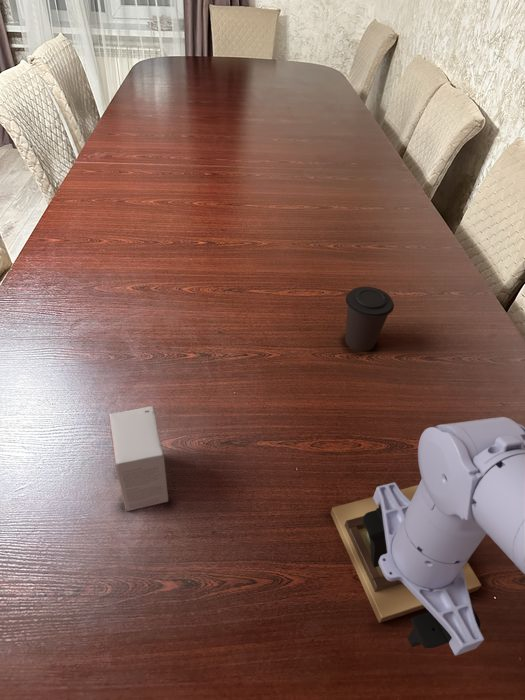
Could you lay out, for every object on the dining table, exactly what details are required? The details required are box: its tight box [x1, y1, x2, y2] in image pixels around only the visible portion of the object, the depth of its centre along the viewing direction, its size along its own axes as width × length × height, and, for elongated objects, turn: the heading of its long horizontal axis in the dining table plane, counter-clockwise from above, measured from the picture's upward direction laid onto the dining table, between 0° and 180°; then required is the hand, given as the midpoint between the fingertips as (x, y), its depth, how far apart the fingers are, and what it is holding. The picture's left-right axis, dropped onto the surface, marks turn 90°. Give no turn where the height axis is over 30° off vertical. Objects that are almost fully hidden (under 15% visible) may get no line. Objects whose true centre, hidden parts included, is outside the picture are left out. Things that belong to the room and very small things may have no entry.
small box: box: [108, 405, 169, 512], centre depth 66 cm, size 8×6×10 cm
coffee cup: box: [344, 286, 395, 352], centre depth 90 cm, size 8×8×10 cm
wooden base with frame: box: [330, 484, 482, 624], centre depth 64 cm, size 14×13×3 cm
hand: (399, 599), depth 51 cm, fingers open, 7 cm apart
